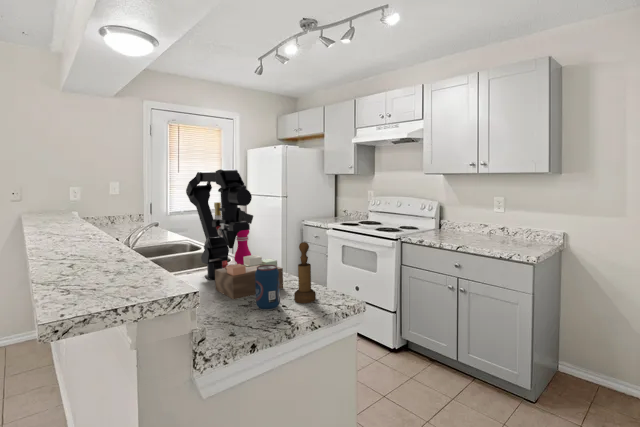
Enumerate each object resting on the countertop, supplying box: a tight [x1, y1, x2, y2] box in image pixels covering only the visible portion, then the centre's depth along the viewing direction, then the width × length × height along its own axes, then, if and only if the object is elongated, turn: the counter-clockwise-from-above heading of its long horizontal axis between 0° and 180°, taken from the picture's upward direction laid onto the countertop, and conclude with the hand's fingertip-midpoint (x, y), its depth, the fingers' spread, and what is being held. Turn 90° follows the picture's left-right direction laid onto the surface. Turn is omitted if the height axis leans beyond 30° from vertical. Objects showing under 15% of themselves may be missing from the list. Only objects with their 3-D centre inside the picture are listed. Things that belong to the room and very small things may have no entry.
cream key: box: [244, 254, 263, 266], centre depth 124 cm, size 4×4×2 cm
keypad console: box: [214, 264, 284, 300], centre depth 127 cm, size 14×18×7 cm
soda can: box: [255, 265, 281, 311], centre depth 108 cm, size 7×7×12 cm
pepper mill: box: [233, 230, 252, 265], centre depth 157 cm, size 7×7×20 cm
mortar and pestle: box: [293, 241, 317, 304], centre depth 114 cm, size 7×6×18 cm
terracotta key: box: [226, 263, 246, 276], centre depth 120 cm, size 4×4×2 cm
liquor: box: [213, 201, 229, 268], centre depth 158 cm, size 7×7×28 cm
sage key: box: [260, 258, 278, 267], centre depth 128 cm, size 4×4×2 cm
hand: (231, 248), depth 133 cm, fingers closed
